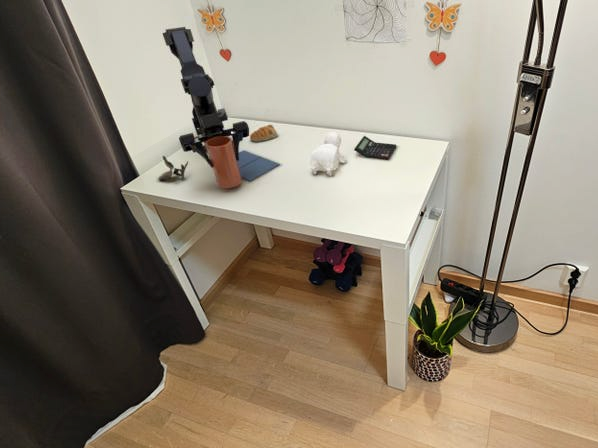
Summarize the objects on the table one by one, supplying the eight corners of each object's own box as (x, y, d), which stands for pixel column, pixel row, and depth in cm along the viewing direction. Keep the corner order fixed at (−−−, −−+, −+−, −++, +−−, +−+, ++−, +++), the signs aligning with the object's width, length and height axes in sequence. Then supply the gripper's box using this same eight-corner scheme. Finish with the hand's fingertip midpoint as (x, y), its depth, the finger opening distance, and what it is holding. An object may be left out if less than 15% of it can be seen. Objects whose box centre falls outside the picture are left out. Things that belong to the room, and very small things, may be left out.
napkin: (214, 166, 129) (214, 164, 129) (243, 151, 137) (243, 150, 136) (250, 181, 120) (250, 180, 120) (279, 164, 128) (279, 163, 127)
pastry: (255, 144, 140) (253, 134, 138) (247, 139, 145) (245, 129, 142) (279, 136, 145) (277, 126, 142) (270, 131, 149) (268, 121, 147)
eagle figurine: (193, 167, 127) (167, 160, 128) (183, 156, 120) (156, 150, 121) (184, 188, 125) (158, 182, 126) (174, 179, 118) (146, 172, 119)
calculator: (388, 160, 126) (388, 151, 125) (354, 156, 130) (353, 147, 128) (396, 146, 133) (396, 138, 132) (363, 143, 137) (363, 135, 135)
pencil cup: (212, 183, 117) (200, 142, 109) (232, 173, 122) (221, 133, 114) (227, 190, 114) (215, 149, 106) (246, 180, 118) (237, 140, 110)
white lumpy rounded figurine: (337, 182, 123) (350, 146, 130) (331, 165, 116) (345, 127, 123) (312, 180, 125) (326, 144, 132) (304, 162, 118) (319, 125, 125)
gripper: (167, 107, 103) (186, 163, 102) (239, 93, 109) (258, 145, 108) (174, 125, 113) (192, 176, 112) (240, 111, 120) (257, 158, 118)
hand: (225, 163), depth 113 cm, fingers closed on pencil cup, 7 cm apart
